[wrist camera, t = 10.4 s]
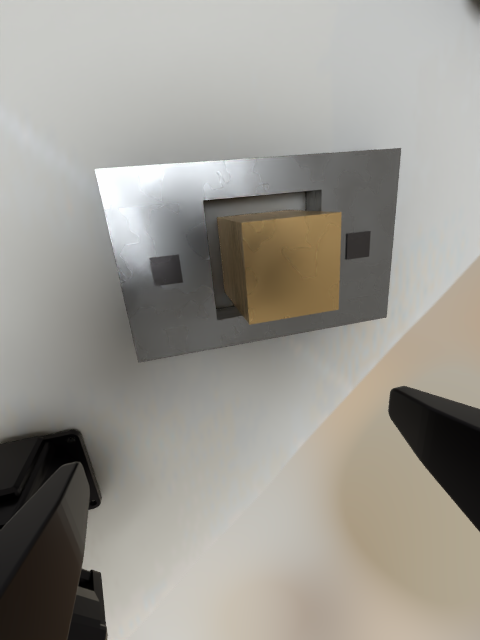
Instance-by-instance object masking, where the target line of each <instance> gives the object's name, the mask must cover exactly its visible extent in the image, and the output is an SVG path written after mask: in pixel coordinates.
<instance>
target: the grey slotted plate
mask: <svg viewBox="0 0 480 640" xmlns="http://www.w3.org/2000/svg"><path fill="white" fill-rule="evenodd" d="M400 156H401V148H397V149H382V150H367V151H352V152H337V153H322V154H308V155H293V156H278V157H263V158H248V159H234V160H219V161H204V162H189V163H174V164H159V165H145V166H130V167H115V168H100V169H95V172H96V177H97V181H98V186H99V190H100V194H101V199H102V203H103V208H104V212H105V217H106V221H107V225H108V230H109V234H110V239H111V243H112V247H113V252H114V256H115V261H116V265H117V270H118V274H119V278H120V283H121V287H122V292H123V296H124V301H125V305H126V309H127V314H128V318H129V323H130V327H131V332H132V336H133V340H134V345H135V349H136V354H137V358H138V362H144V361H149V360H155V359H160V358H166V357H171V356H177V355H182V354H188V353H193V352H199V351H204V350H210V349H215V348H221V347H226V346H232V345H237V344H243V343H248V342H254V341H259V340H265V339H270V338H276V337H281V336H287V335H292V334H298V333H303V332H309V331H314V330H320V329H325V328H331V327H336V326H342V325H347V324H353V323H358V322H364V321H369V320H375V319H380V318H386V317H387V305H388V294H389V282H390V271H391V259H392V248H393V236H394V225H395V213H396V202H397V190H398V179H399V167H400ZM301 191H306V211H327V212H342V216H341V250H340V284H339V310H333V311H327V312H322V313H316V314H310V315H304V316H298V317H292V318H286V319H280V320H274V321H268V322H263V323H257V324H251V325H249V323H248V322H247V321H246V319H245V318H244V317H243V315H242V314H241V313H240V312H239V310H238V309H237V308H236V306H233V307H226V308H220V309H216V306H215V298H214V289H213V281H212V273H211V264H210V256H209V247H208V239H207V230H206V222H205V214H204V205H203V200H213V199H224V198H235V197H246V196H257V195H268V194H279V193H290V192H301Z"/></svg>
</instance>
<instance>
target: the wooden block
mask: <svg viewBox="0 0 480 640" xmlns="http://www.w3.org/2000/svg"><path fill="white" fill-rule="evenodd" d="M341 216H342V212H327V211H303V210H284V211H275V212H265V213H255V214H245V215H235V216H225V217H217V223H218V232H219V242H220V252H221V261H222V271H223V280H224V290H225V293H226V294H227V296H228V297H229V298H230V300H231V301H232V302H233V304H234V305H235V306H236V308H237V309H238V310H239V312H240V313H241V314H242V315H243V317H244V318H245V319H246V321H247V322H248V323H249V325H251V324H257V323H263V322H268V321H274V320H280V319H286V318H292V317H298V316H304V315H310V314H316V313H322V312H327V311H333V310H339V284H340V250H341Z"/></svg>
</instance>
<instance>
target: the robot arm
mask: <svg viewBox="0 0 480 640" xmlns="http://www.w3.org/2000/svg"><path fill="white" fill-rule="evenodd" d="M388 412H389V416H390V418H391V420H392V421H393V423H394V424H395V425H396V427H397V428H398V430H399V431H400V432H401V434H402V435H403V437H404V438H405V440H406V441H407V443H408V444H409V445H410V447H411V448H412V450H413V451H414V453H415V454H416V456H417V457H418V458H419V460H420V461H421V462H422V463H423V465H424V466H425V467H426V468H427V470H428V471H429V472H430V473H431V474H432V476H433V477H434V478H435V479H436V480H437V482H438V483H439V484H440V485H441V486H442V487H443V489H444V490H445V491H446V492H447V493H448V495H449V496H450V497H451V498H452V499H453V501H454V502H455V503H456V504H457V505H458V507H459V508H460V509H461V510H462V511H463V512H464V514H465V515H466V516H467V517H468V518H469V520H470V521H471V522H472V523H473V524H474V526H475V527H476V528H477V529H478V530H479V531H480V409H478V408H474V407H471V406H468V405H465V404H462V403H458V402H455V401H452V400H449V399H445V398H442V397H439V396H436V395H432V394H429V393H426V392H423V391H419V390H416V389H413V388H410V387H407V386H401V387H397V388H393V389H392V390H391V392H390V399H389V409H388ZM70 437H73V438H75V439H74V440H71V439H69V438H70ZM92 500H95V501H92ZM100 503H101V494H100V491H99V488H98V485H97V482H96V479H95V476H94V473H93V470H92V466H91V463H90V460H89V457H88V454H87V451H86V448H85V445H84V442H83V439H82V436H81V434H80V432H78V431H76V430H69V431H65V432H60V433H55V434H51V435H46V436H41V437H33V438H28V439H23V440H18V441H14V442H9V443H4V444H0V640H107V636H108V634H107V627H106V621H105V610H104V600H103V589H102V579H101V573H100V572H97V571H94V570H90V571H87V570H84V569H82V563H83V557H84V549H85V539H86V528H87V518H88V510H90V509H94V508H96V507H98V506H99V505H100Z"/></svg>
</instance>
